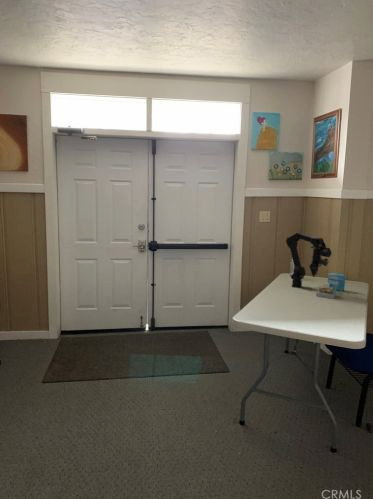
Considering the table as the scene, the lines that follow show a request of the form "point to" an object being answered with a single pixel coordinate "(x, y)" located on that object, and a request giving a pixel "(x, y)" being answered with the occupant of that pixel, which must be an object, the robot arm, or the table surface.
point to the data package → (336, 281)
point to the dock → (326, 294)
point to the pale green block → (326, 285)
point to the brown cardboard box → (326, 289)
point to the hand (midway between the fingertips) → (314, 275)
